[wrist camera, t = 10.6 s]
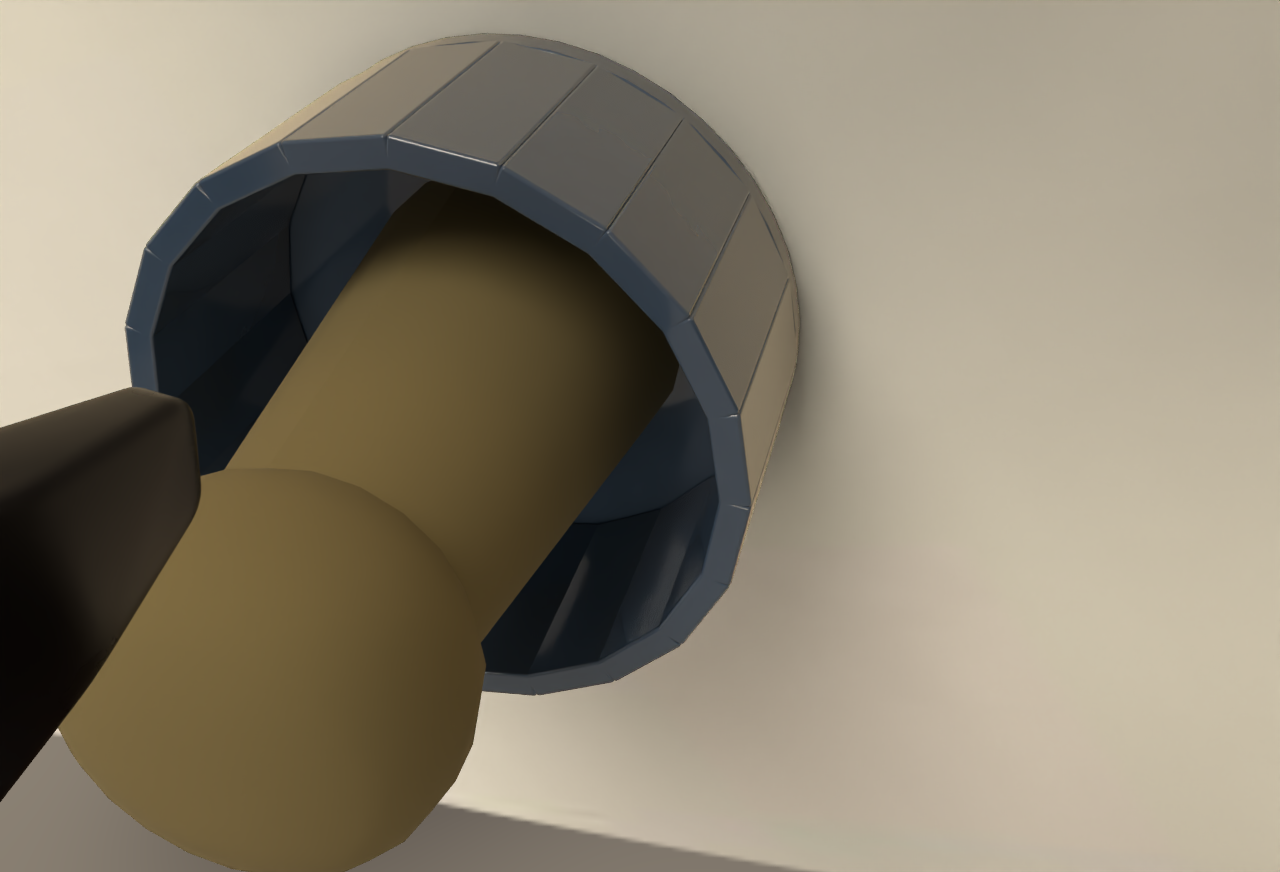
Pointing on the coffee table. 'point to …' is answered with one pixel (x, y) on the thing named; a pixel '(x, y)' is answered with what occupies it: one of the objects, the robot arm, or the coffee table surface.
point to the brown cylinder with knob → (372, 545)
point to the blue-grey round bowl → (568, 207)
